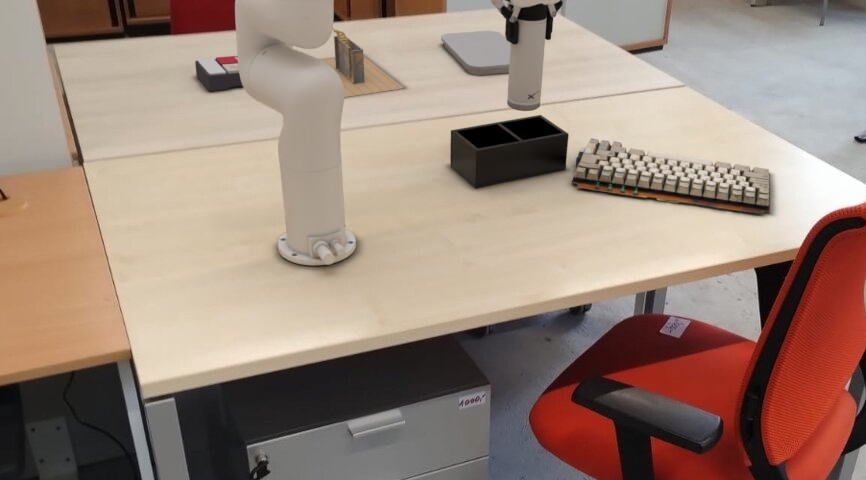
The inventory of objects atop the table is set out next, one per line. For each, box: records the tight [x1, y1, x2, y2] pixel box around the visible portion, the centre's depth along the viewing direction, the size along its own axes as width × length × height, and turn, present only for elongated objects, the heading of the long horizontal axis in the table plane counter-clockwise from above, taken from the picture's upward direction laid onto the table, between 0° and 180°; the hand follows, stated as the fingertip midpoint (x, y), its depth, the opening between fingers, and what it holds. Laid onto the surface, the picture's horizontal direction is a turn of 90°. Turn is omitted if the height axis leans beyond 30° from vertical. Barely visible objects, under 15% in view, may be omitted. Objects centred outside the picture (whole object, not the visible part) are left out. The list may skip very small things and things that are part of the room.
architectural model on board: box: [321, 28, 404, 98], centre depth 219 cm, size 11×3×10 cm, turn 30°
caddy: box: [449, 114, 569, 189], centre depth 182 cm, size 10×20×8 cm, turn 119°
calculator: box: [194, 55, 243, 92], centre depth 216 cm, size 11×4×15 cm
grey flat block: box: [440, 30, 511, 76], centre depth 237 cm, size 16×26×2 cm, turn 21°
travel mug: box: [506, 3, 547, 112], centre depth 173 cm, size 6×7×20 cm
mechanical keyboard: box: [571, 137, 771, 215], centre depth 181 cm, size 38×19×3 cm, turn 77°
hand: (528, 39), depth 172 cm, fingers closed on travel mug, 6 cm apart
